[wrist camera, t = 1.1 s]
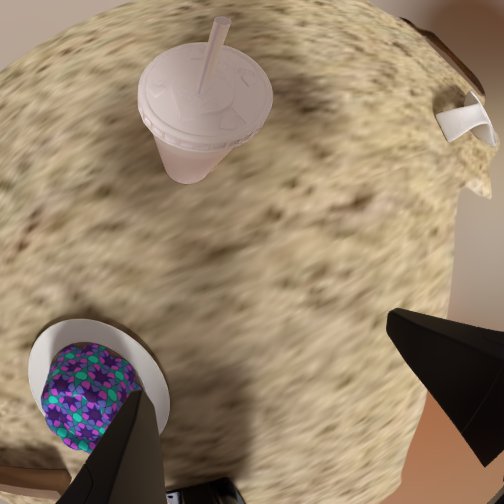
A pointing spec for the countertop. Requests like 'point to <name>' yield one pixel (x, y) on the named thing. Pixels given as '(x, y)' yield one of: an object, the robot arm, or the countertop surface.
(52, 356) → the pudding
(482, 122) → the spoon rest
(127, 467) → the robot arm
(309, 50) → the countertop surface
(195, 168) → the smoothie
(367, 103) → the countertop surface
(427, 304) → the countertop surface
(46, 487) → the bay
